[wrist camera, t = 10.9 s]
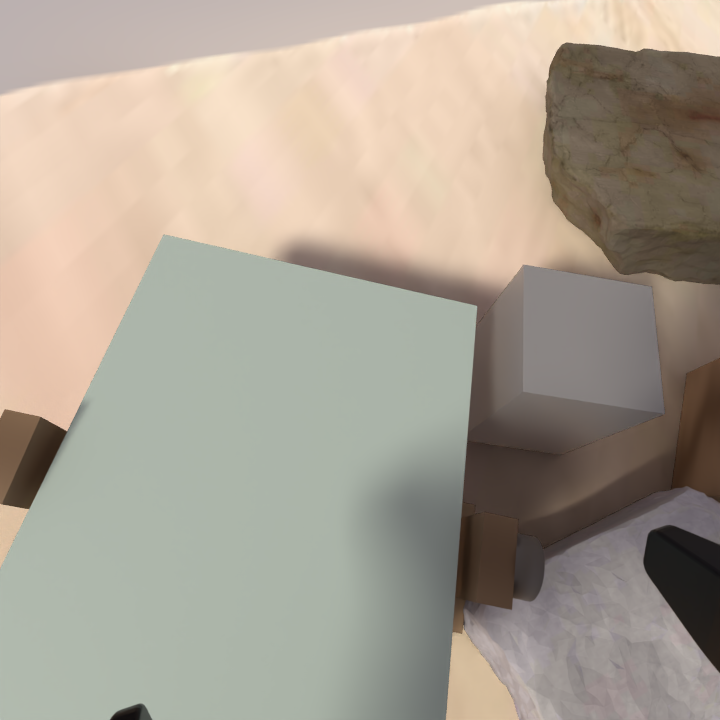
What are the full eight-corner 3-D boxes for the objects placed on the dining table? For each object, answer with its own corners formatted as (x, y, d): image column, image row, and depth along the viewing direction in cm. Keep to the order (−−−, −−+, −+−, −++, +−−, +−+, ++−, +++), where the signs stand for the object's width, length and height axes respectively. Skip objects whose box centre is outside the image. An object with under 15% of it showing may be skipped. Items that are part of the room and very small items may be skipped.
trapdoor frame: (454, 630, 21) (546, 672, 13) (48, 546, 20) (-105, 539, 13) (468, 507, 23) (555, 481, 15) (95, 427, 22) (-12, 357, 15)
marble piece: (751, 111, 35) (808, 55, 31) (805, 301, 30) (881, 263, 26) (517, 75, 34) (546, 12, 30) (530, 267, 28) (567, 222, 25)
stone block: (747, 671, 24) (654, 468, 25) (864, 726, 19) (743, 473, 20) (532, 809, 21) (437, 578, 22) (605, 913, 17) (481, 614, 17)
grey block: (560, 455, 24) (664, 414, 17) (458, 439, 24) (523, 391, 17) (558, 358, 26) (652, 286, 19) (463, 343, 26) (523, 264, 19)
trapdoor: (396, 769, 16) (438, 818, 12) (23, 696, 16) (-74, 719, 12) (441, 366, 24) (477, 305, 19) (185, 309, 23) (163, 234, 19)
